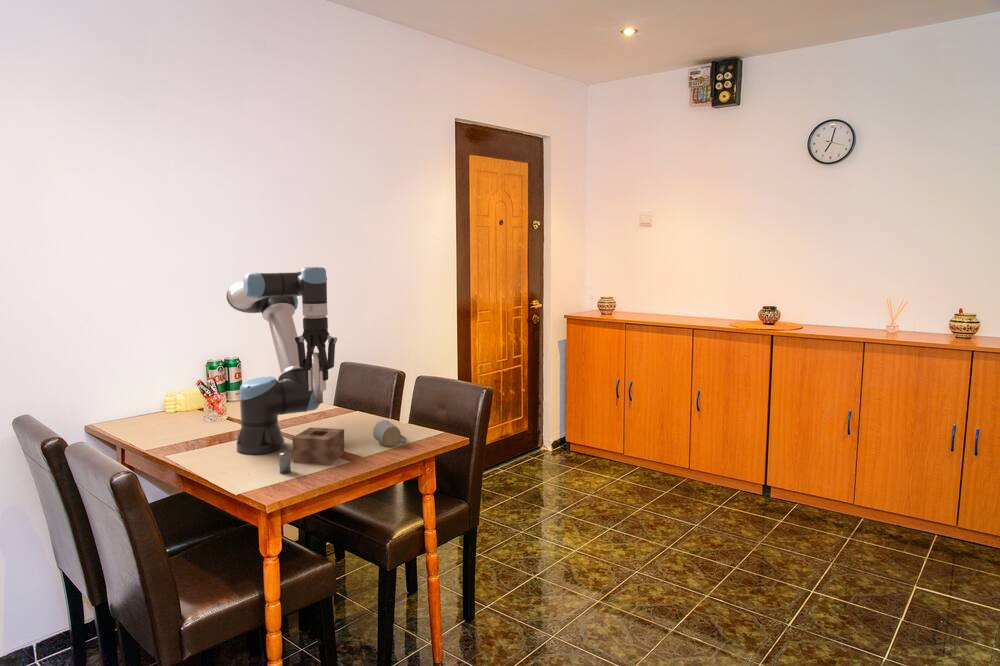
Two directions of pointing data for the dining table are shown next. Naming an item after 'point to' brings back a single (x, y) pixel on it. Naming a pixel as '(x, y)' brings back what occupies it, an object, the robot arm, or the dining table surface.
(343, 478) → the dining table surface
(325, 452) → the hole block
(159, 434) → the dining table surface
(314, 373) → the tall pin
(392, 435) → the ceramic mug
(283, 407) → the robot arm
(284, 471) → the short pin
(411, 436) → the dining table surface
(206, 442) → the dining table surface
